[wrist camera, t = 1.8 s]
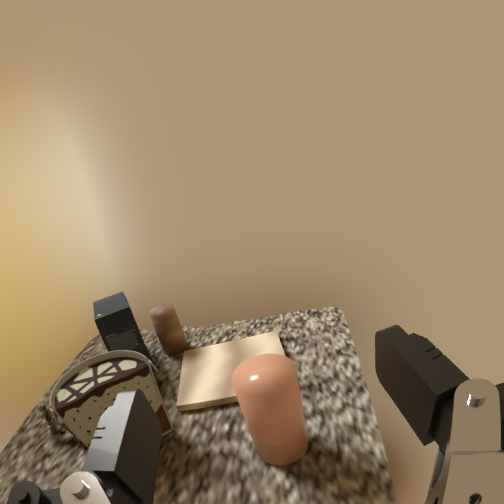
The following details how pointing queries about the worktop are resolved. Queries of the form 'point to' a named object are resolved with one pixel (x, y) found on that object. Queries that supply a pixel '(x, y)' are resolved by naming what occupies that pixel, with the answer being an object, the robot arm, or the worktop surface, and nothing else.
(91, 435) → the food container
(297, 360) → the worktop surface
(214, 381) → the birch board
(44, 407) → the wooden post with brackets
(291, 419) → the salmon orange cylinder
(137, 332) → the box
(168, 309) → the walnut cylinder
